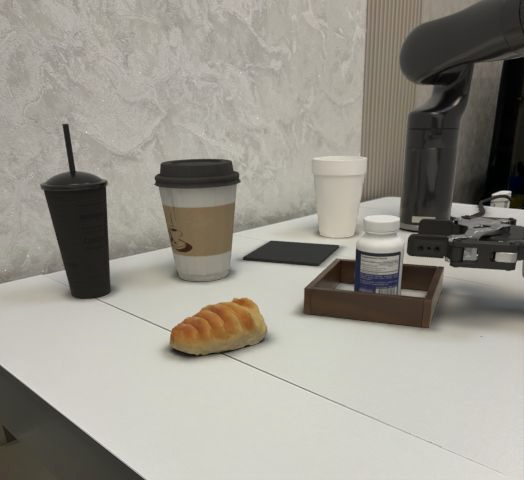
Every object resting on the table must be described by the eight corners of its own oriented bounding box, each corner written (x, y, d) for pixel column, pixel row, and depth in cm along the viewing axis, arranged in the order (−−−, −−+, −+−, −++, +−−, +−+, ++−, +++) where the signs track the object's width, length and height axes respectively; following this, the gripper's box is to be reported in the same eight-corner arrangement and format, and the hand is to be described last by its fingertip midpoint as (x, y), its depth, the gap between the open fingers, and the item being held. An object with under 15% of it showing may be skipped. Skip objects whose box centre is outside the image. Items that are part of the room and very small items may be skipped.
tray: (335, 280, 73) (336, 258, 72) (441, 289, 68) (444, 266, 67) (303, 313, 61) (304, 288, 60) (429, 328, 57) (432, 300, 55)
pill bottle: (362, 291, 68) (367, 212, 64) (405, 297, 66) (412, 215, 62) (346, 304, 64) (350, 220, 60) (391, 311, 61) (398, 224, 57)
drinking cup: (102, 280, 75) (80, 122, 67) (133, 291, 70) (112, 122, 62) (49, 293, 70) (18, 125, 62) (77, 306, 65) (47, 125, 57)
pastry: (193, 367, 49) (189, 327, 48) (156, 345, 54) (152, 308, 53) (273, 340, 55) (272, 303, 53) (233, 322, 59) (232, 288, 58)
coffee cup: (146, 276, 77) (134, 163, 71) (207, 259, 84) (200, 156, 78) (200, 291, 69) (191, 168, 63) (261, 272, 77) (258, 160, 71)
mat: (271, 242, 94) (270, 240, 94) (339, 247, 90) (339, 245, 90) (242, 259, 84) (242, 257, 84) (318, 266, 80) (318, 263, 79)
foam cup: (316, 227, 104) (318, 155, 99) (365, 229, 102) (369, 155, 97) (306, 238, 96) (307, 160, 91) (359, 240, 94) (363, 160, 89)
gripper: (578, 197, 59) (424, 191, 65) (598, 221, 47) (406, 212, 53) (564, 264, 62) (418, 254, 68) (579, 304, 50) (400, 287, 56)
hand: (413, 236), depth 60 cm, fingers open, 8 cm apart
